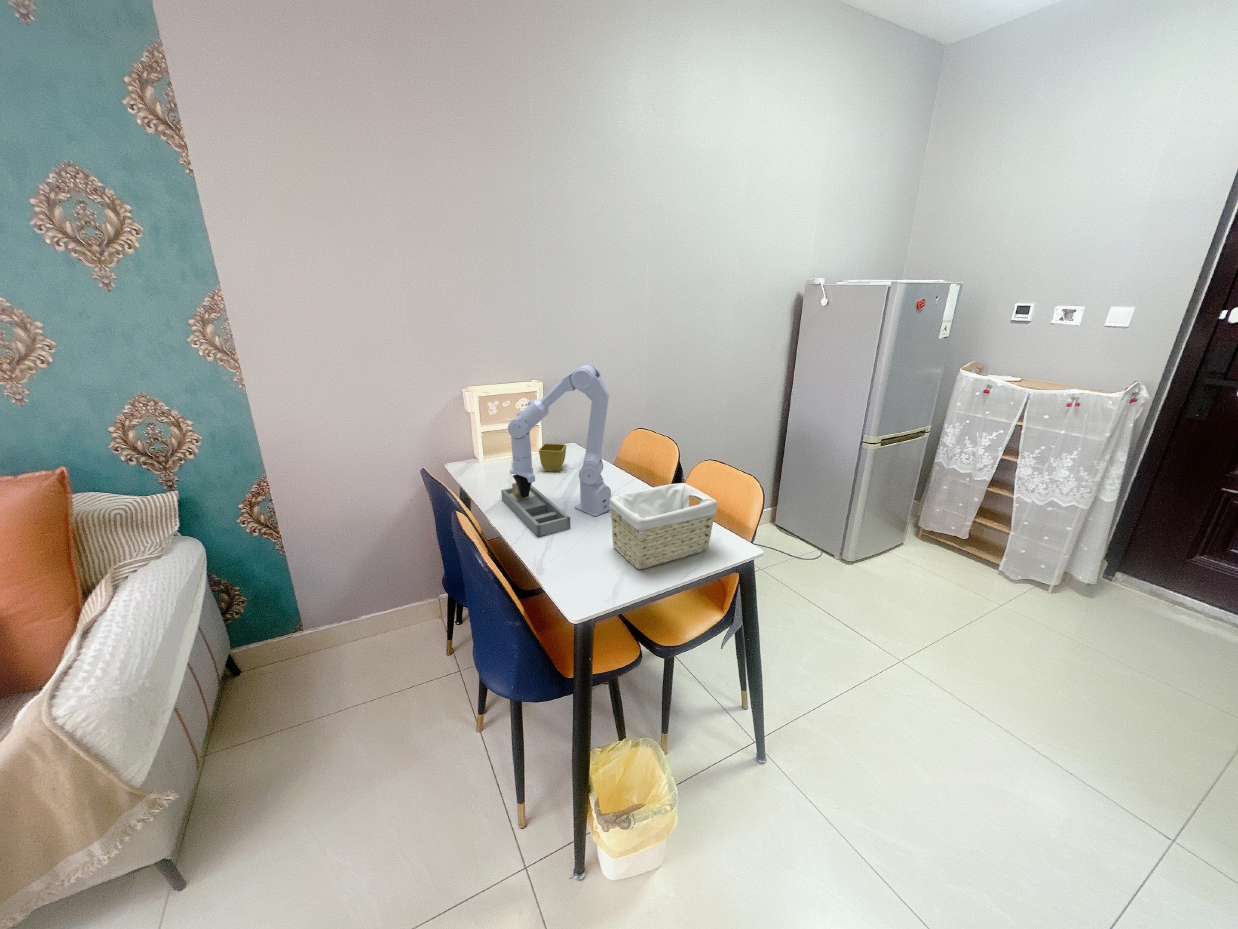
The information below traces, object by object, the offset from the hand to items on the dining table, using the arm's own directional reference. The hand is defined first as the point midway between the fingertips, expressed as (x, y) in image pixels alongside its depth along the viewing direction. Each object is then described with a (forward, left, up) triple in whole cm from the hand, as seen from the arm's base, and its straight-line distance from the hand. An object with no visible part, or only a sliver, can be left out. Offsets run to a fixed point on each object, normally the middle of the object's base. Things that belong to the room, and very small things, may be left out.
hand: (524, 496), depth 153 cm
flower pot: (+19, -27, -3) cm, 33 cm away
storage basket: (-49, -8, -3) cm, 50 cm away
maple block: (+3, -1, -1) cm, 4 cm away
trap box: (-7, +2, -3) cm, 8 cm away
